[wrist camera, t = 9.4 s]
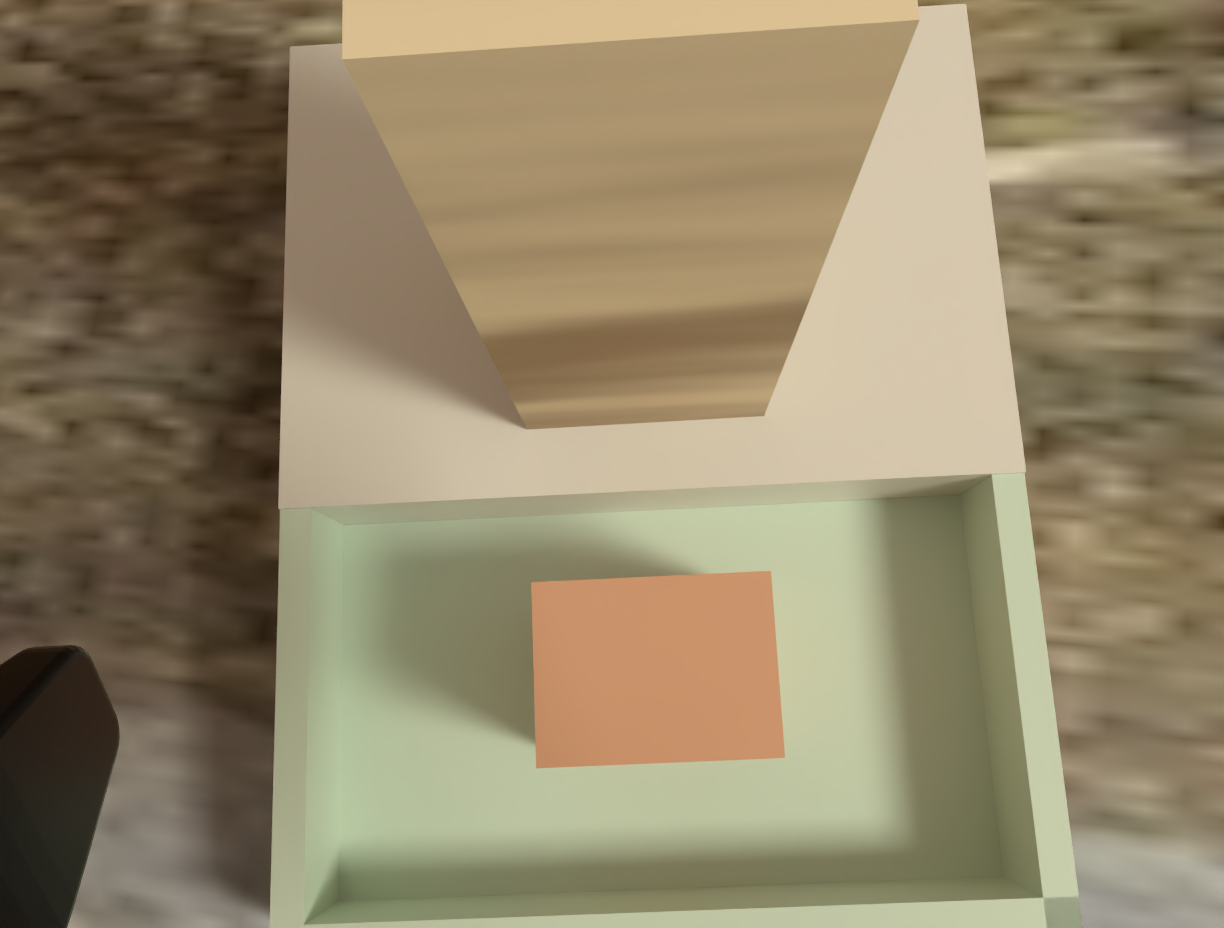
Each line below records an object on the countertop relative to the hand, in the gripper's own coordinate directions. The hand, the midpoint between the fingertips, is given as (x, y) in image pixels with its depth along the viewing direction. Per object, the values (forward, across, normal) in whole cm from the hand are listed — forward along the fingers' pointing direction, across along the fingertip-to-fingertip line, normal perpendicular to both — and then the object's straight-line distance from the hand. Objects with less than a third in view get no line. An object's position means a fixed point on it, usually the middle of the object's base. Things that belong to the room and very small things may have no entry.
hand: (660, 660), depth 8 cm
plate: (+15, 0, +4) cm, 16 cm away
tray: (+9, 0, +10) cm, 13 cm away
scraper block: (+13, 0, +3) cm, 13 cm away
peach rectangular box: (+9, 0, +7) cm, 11 cm away
